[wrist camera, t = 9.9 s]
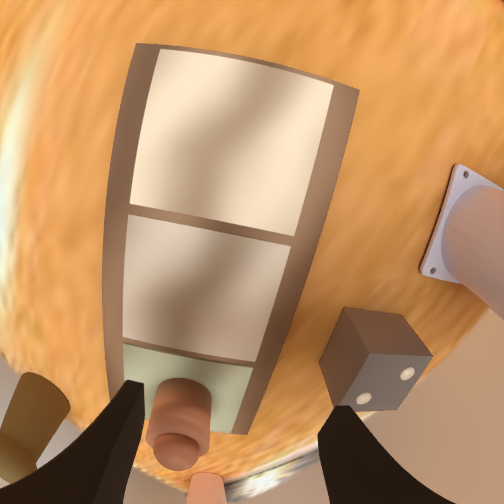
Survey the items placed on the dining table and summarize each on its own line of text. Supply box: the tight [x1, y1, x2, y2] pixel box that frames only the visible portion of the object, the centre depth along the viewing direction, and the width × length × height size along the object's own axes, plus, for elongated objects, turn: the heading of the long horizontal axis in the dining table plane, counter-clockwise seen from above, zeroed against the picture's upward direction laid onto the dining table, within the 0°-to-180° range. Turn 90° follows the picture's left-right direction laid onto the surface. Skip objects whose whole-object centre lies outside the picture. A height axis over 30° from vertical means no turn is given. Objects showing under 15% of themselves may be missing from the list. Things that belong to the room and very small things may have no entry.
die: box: [319, 307, 433, 412], centre depth 18 cm, size 5×5×5 cm
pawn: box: [146, 378, 212, 471], centre depth 18 cm, size 4×4×6 cm
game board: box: [102, 43, 360, 435], centre depth 18 cm, size 12×27×1 cm, turn 167°
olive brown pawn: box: [0, 372, 70, 484], centre depth 17 cm, size 6×6×11 cm
